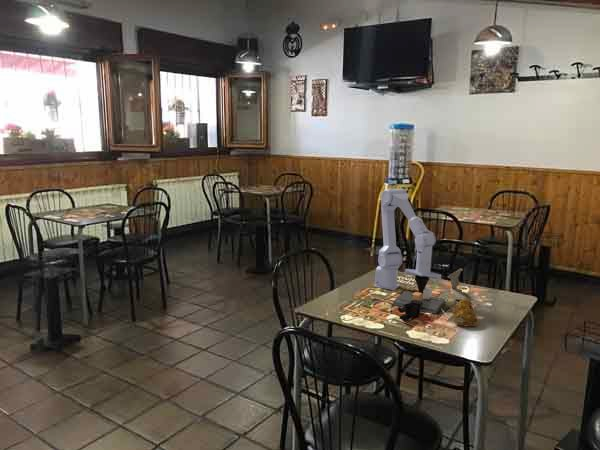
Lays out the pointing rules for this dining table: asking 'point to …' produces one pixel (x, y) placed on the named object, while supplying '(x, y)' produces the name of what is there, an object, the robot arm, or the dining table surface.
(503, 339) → the dining table surface
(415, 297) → the fader orange
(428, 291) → the block
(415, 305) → the toy
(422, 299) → the panel
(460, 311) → the rock
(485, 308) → the dining table surface
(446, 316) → the dining table surface
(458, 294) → the jawbone
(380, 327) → the dining table surface
